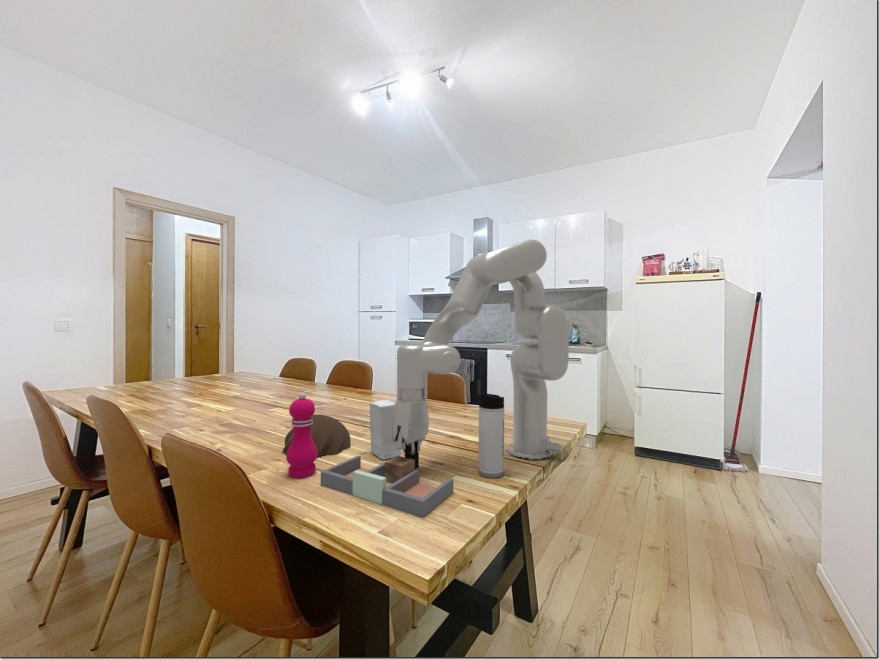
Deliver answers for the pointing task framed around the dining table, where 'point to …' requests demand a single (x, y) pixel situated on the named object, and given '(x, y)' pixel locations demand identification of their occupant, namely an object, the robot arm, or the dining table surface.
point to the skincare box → (382, 430)
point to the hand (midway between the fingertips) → (411, 467)
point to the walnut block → (398, 468)
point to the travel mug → (491, 435)
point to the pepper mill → (301, 439)
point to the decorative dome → (325, 436)
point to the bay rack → (373, 487)
